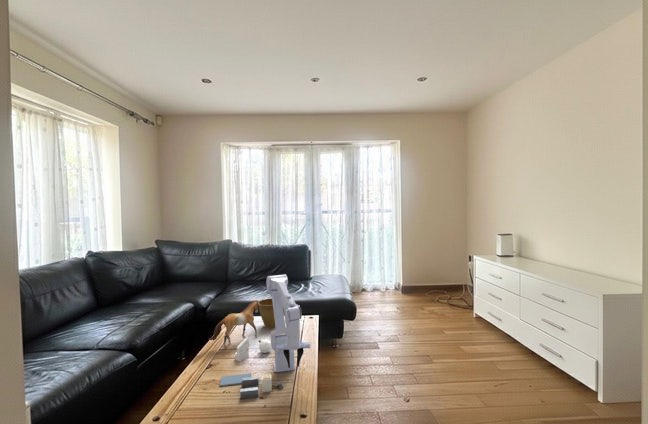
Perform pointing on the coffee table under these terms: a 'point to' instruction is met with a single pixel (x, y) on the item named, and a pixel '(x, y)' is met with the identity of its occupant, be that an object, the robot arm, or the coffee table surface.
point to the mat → (233, 379)
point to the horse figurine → (237, 322)
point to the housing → (249, 391)
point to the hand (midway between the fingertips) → (293, 366)
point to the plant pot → (267, 312)
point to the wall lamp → (269, 383)
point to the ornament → (265, 346)
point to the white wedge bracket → (242, 350)
